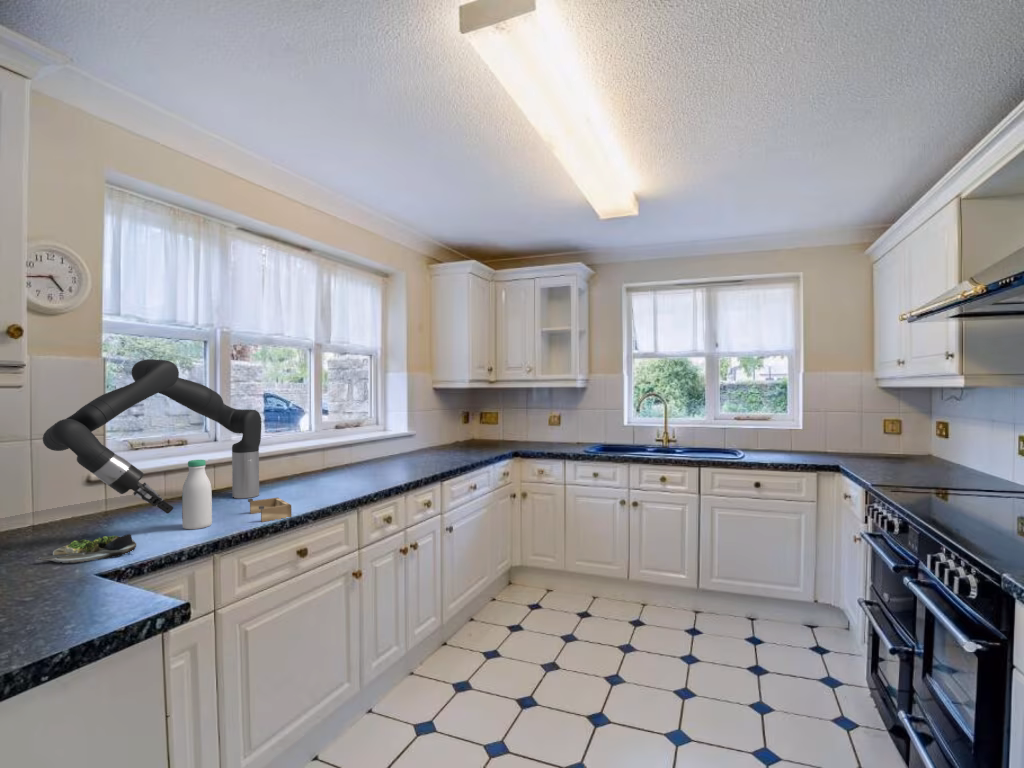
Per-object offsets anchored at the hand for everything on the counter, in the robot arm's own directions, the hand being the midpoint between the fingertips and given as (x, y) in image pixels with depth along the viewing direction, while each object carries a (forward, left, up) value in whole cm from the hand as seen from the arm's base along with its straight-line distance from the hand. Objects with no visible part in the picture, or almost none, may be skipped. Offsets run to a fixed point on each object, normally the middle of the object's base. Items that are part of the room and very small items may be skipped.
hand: (170, 510), depth 157 cm
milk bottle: (0, +7, -6) cm, 9 cm away
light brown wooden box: (0, +28, -6) cm, 28 cm away
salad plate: (+12, -17, -6) cm, 22 cm away
